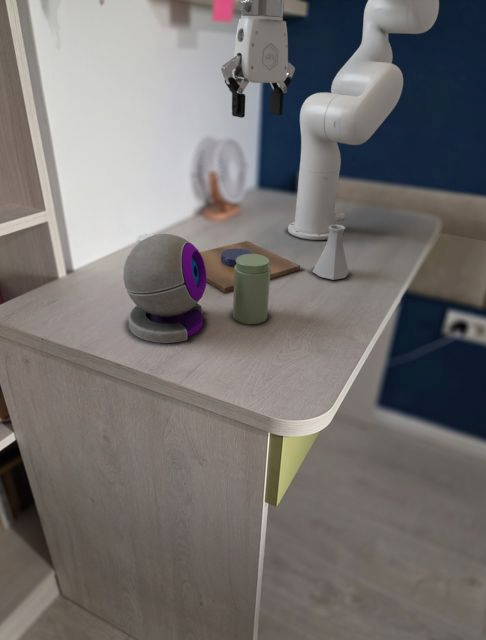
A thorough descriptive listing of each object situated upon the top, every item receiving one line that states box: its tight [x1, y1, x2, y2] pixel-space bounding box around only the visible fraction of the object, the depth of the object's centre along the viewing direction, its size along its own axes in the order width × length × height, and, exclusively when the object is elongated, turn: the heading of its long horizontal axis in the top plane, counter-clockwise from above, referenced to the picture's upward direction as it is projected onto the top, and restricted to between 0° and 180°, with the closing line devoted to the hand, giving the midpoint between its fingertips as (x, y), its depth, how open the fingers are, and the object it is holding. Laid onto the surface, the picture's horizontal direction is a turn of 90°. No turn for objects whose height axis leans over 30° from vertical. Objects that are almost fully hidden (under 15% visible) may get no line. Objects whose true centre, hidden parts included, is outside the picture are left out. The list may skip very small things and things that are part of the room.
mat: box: [199, 240, 301, 293], centre depth 105 cm, size 20×18×1 cm
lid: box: [221, 248, 253, 267], centre depth 104 cm, size 7×7×2 cm
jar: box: [232, 254, 271, 325], centre depth 84 cm, size 6×6×10 cm
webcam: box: [122, 233, 207, 344], centre depth 79 cm, size 13×13×15 cm
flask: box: [312, 223, 350, 281], centre depth 101 cm, size 7×7×10 cm
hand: (257, 115), depth 98 cm, fingers open, 9 cm apart
